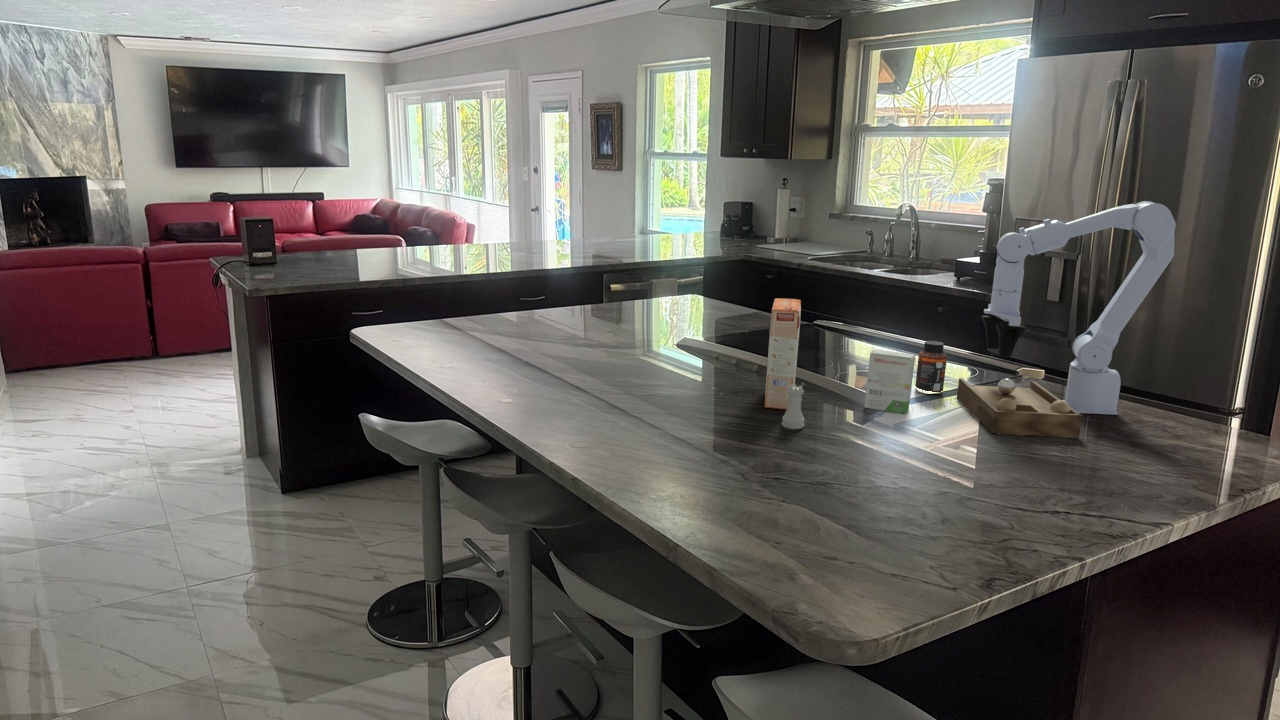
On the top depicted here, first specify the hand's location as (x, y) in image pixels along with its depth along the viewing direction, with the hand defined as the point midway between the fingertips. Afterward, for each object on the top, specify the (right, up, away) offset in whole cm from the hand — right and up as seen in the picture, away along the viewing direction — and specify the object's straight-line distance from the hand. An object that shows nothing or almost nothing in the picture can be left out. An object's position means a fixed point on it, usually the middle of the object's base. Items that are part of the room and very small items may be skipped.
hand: (998, 352), depth 185 cm
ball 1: (-7, -11, -19) cm, 23 cm away
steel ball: (-1, -7, -5) cm, 9 cm away
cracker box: (-48, -10, -3) cm, 49 cm away
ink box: (-26, -12, -6) cm, 29 cm away
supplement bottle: (-13, -9, +6) cm, 17 cm away
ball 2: (+3, -11, -20) cm, 23 cm away
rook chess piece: (-48, -15, -20) cm, 54 cm away
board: (-1, -13, -10) cm, 17 cm away
